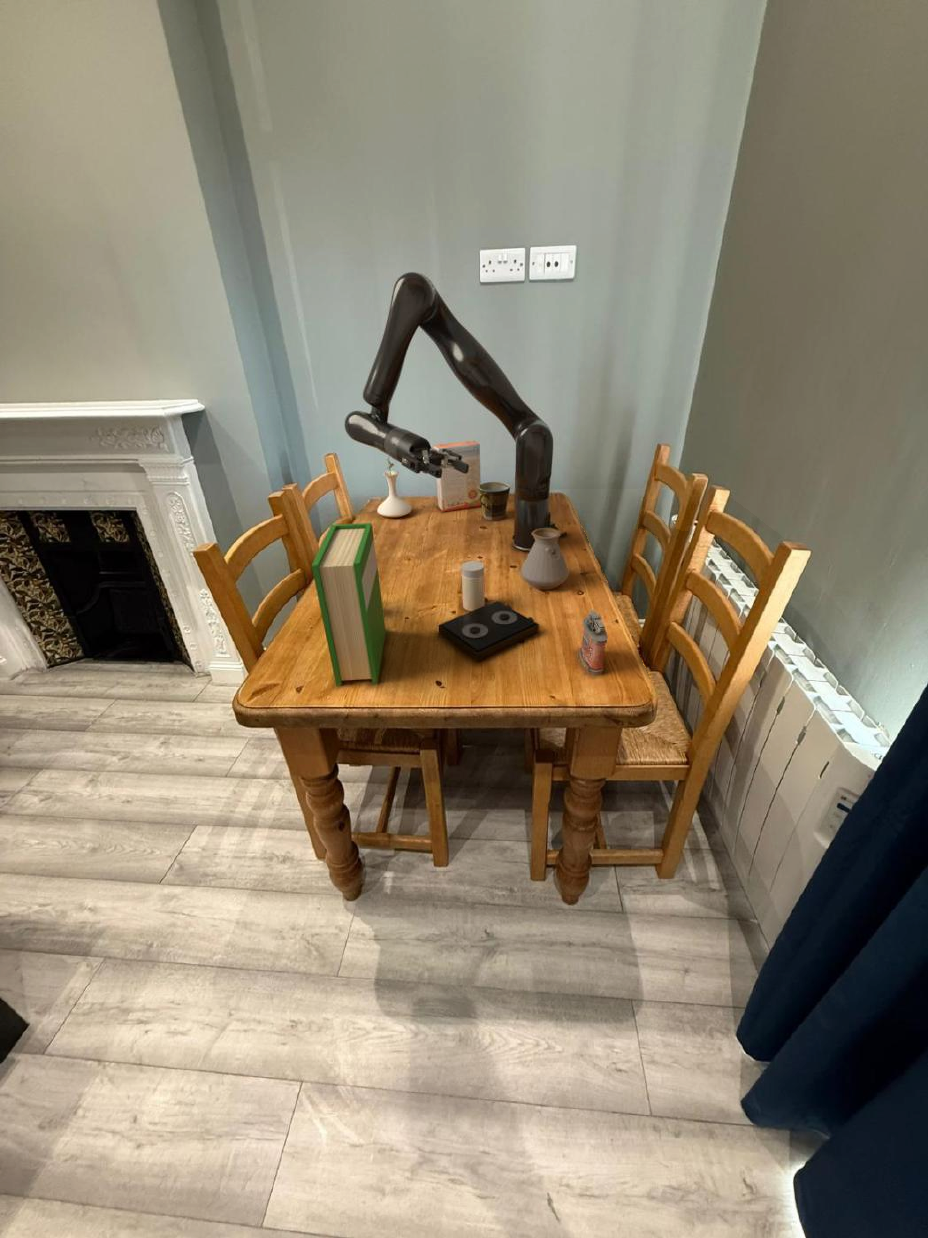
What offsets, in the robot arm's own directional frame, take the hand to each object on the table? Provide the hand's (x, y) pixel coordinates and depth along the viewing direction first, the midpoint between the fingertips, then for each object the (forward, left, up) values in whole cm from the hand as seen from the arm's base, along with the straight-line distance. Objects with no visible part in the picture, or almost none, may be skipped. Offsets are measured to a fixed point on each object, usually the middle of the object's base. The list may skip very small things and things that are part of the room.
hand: (454, 471), depth 113 cm
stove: (+11, +25, -27) cm, 38 cm away
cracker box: (-32, -43, -27) cm, 60 cm away
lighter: (+2, +44, -27) cm, 52 cm away
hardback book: (+35, +15, -27) cm, 46 cm away
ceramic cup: (-33, -27, -27) cm, 50 cm away
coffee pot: (-11, +19, -27) cm, 35 cm away
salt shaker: (+6, +13, -27) cm, 30 cm away
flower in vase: (-12, -52, -27) cm, 60 cm away
